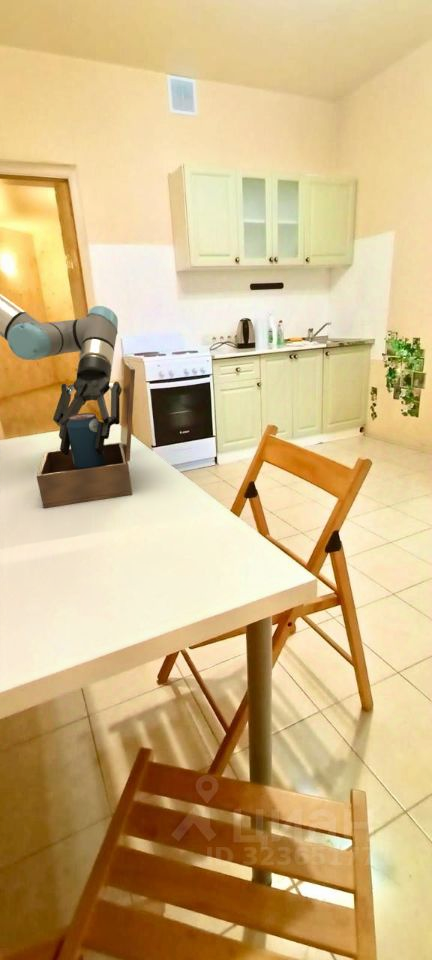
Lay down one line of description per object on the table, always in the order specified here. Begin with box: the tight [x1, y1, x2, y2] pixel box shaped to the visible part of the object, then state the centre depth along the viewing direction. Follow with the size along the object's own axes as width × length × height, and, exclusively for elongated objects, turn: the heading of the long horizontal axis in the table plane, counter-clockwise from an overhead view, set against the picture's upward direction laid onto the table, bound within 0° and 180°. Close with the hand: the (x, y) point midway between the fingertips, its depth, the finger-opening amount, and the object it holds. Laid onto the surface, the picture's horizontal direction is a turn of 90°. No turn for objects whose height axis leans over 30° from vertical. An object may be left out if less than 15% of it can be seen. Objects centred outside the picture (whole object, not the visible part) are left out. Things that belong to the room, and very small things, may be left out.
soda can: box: [67, 412, 106, 470], centre depth 98 cm, size 7×7×12 cm
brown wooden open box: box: [36, 441, 133, 509], centre depth 98 cm, size 18×18×7 cm
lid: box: [120, 361, 136, 462], centre depth 95 cm, size 18×18×1 cm
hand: (81, 451), depth 95 cm, fingers closed on soda can, 7 cm apart
